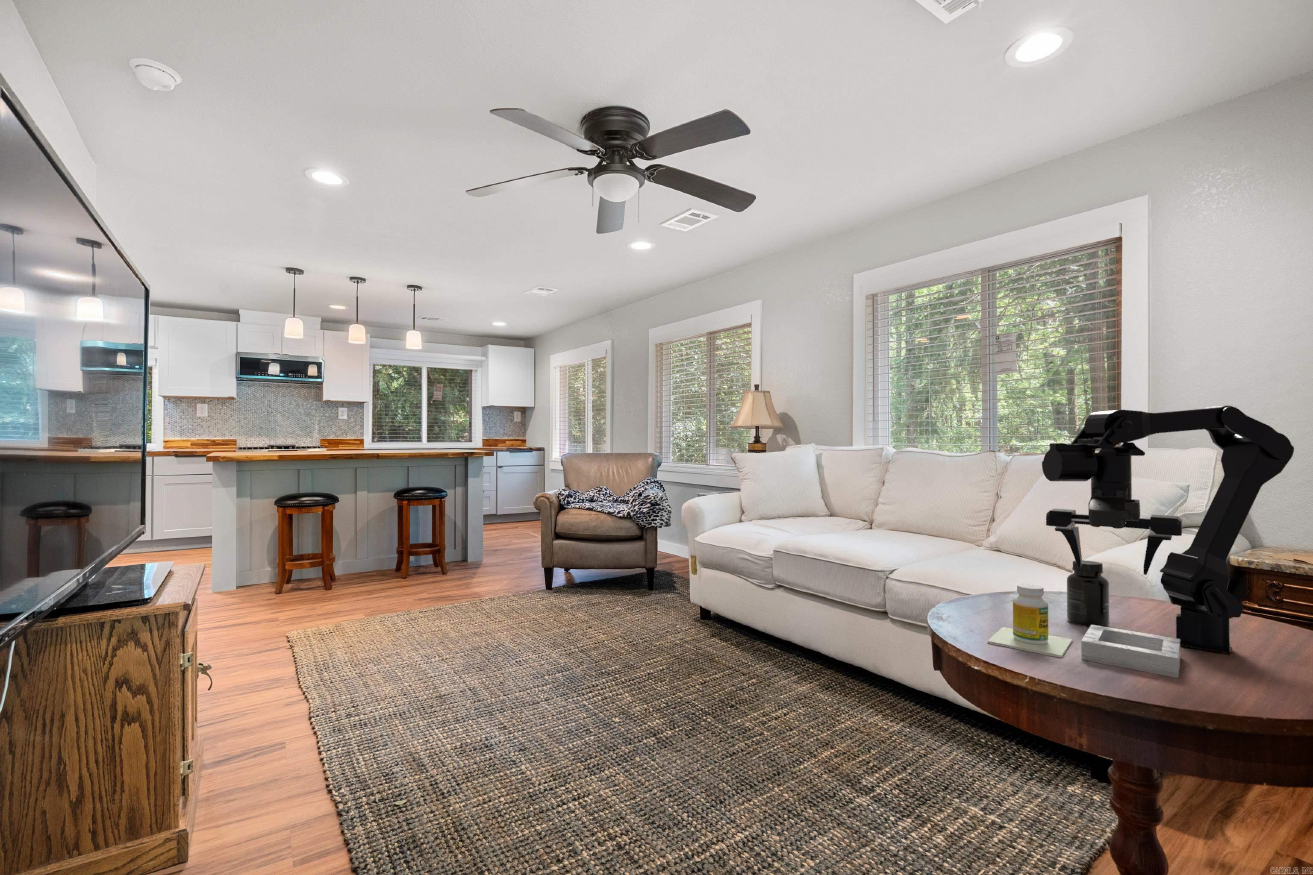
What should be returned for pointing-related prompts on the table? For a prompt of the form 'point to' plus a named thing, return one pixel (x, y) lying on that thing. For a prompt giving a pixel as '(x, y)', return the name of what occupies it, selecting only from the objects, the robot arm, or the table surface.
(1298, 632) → the table surface
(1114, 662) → the grey square frame
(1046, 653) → the sage pad
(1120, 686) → the table surface
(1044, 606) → the supplement bottle
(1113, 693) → the table surface
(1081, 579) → the supplement bottle
